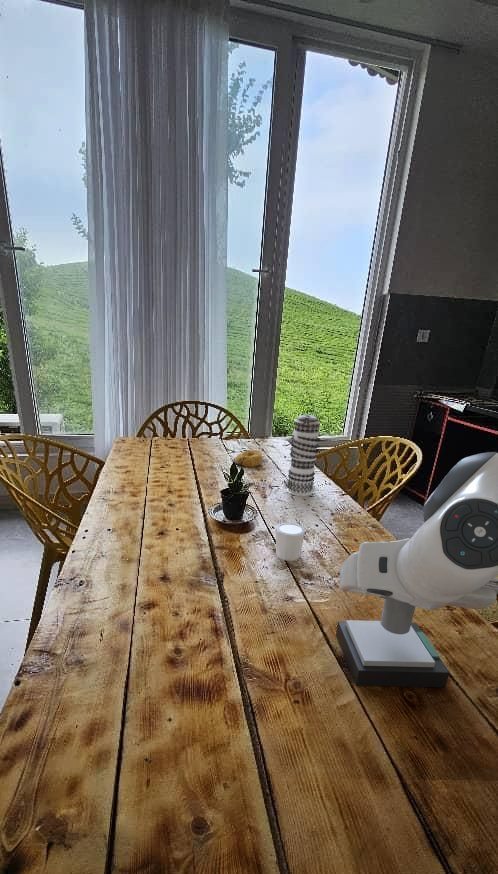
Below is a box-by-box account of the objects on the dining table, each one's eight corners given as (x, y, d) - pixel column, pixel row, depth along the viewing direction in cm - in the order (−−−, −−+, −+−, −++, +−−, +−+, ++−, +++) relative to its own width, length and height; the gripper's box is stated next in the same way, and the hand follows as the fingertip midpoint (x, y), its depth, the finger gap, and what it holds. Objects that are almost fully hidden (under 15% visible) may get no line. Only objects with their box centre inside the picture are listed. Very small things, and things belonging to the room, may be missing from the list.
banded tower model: (319, 493, 146) (329, 417, 137) (299, 498, 141) (308, 420, 132) (300, 484, 153) (308, 412, 144) (279, 489, 148) (287, 414, 139)
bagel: (232, 460, 178) (232, 448, 176) (259, 460, 179) (260, 448, 177) (235, 467, 169) (236, 455, 167) (264, 467, 170) (265, 455, 168)
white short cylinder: (304, 562, 103) (307, 535, 100) (274, 561, 103) (277, 534, 100) (299, 548, 109) (302, 523, 107) (272, 547, 109) (274, 521, 107)
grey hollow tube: (387, 613, 74) (399, 559, 70) (414, 626, 71) (428, 571, 68) (374, 625, 71) (386, 569, 68) (402, 638, 68) (416, 581, 65)
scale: (412, 636, 80) (417, 618, 78) (445, 687, 69) (451, 667, 67) (335, 634, 79) (338, 616, 78) (355, 685, 68) (360, 665, 67)
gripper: (513, 560, 57) (470, 585, 69) (349, 540, 60) (336, 567, 73) (518, 609, 54) (472, 626, 67) (346, 586, 58) (333, 605, 70)
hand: (400, 595), depth 70 cm, fingers closed on grey hollow tube, 4 cm apart
